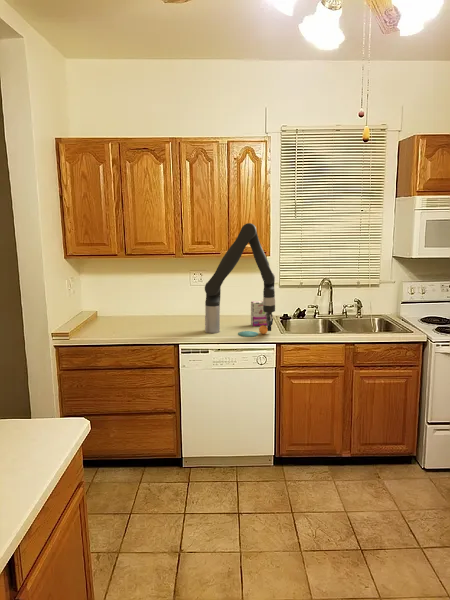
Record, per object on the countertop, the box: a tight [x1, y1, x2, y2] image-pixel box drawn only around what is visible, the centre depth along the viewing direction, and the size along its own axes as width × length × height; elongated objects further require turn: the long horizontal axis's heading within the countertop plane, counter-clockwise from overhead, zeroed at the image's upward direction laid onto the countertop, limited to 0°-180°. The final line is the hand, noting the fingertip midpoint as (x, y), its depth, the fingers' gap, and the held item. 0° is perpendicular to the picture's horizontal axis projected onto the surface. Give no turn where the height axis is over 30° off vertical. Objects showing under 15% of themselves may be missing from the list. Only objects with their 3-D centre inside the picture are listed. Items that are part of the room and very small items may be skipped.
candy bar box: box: [250, 300, 267, 327], centre depth 304 cm, size 11×5×16 cm, turn 105°
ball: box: [258, 325, 269, 335], centre depth 283 cm, size 6×6×6 cm
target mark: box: [237, 330, 260, 338], centre depth 283 cm, size 13×13×1 cm
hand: (269, 330), depth 283 cm, fingers closed
